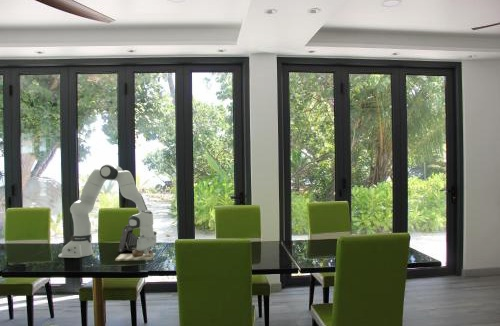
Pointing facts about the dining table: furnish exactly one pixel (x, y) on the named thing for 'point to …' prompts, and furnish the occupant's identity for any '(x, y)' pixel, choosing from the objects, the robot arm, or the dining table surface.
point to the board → (134, 257)
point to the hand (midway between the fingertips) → (146, 254)
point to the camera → (128, 240)
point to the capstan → (139, 252)
